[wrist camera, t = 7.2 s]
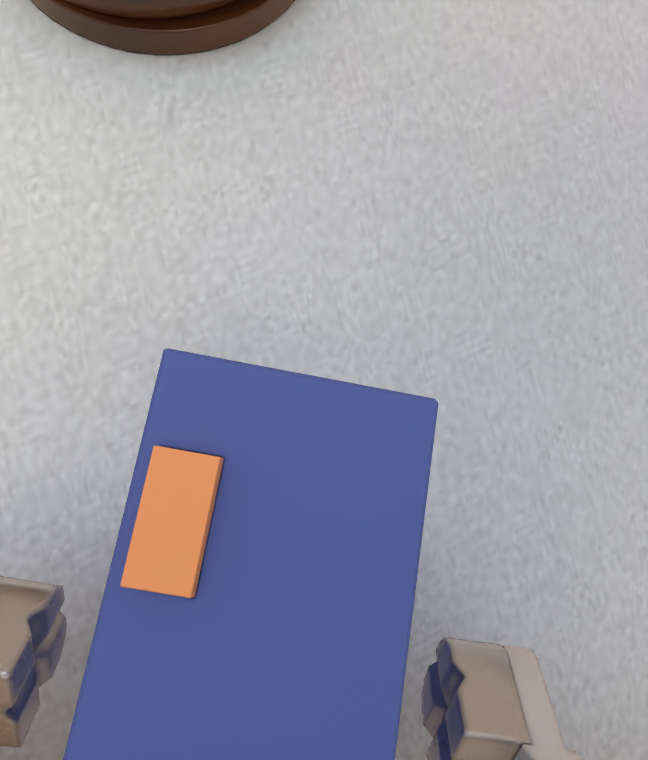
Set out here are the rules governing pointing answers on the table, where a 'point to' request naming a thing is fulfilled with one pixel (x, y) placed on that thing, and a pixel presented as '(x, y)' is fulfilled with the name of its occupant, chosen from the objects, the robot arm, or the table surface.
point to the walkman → (260, 571)
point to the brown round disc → (164, 22)
